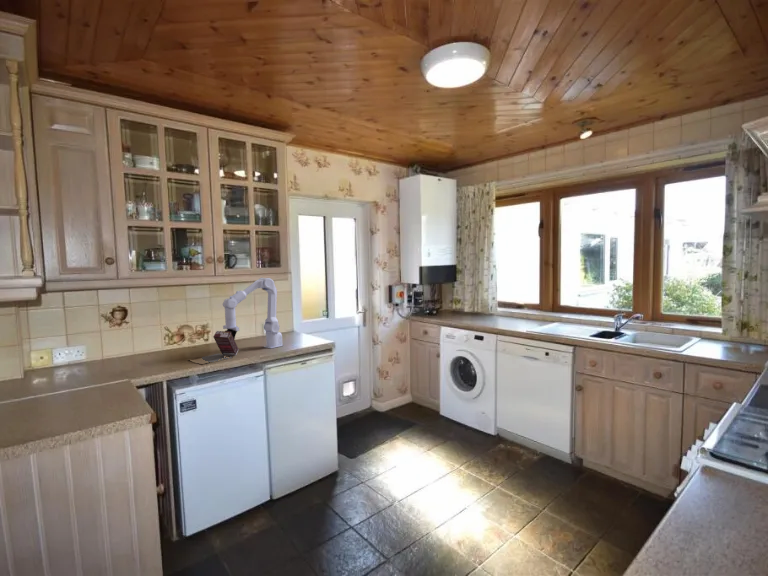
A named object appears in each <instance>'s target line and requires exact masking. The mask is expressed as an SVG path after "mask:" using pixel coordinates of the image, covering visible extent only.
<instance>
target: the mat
mask: <svg viewBox="0 0 768 576" xmlns="http://www.w3.org/2000/svg"><path fill="white" fill-rule="evenodd" d="M224 356H225V355H222V353H215V354H210V355H206V356H201V357H202V359H203V360H205V361H208V362H213V363H215V362H214V361H217V362H219V361H218V360H219V359H220V360H221V361H223V360H222V358H223V359H226V360H229V359H228V358H226V357H225V358H224ZM232 357H233V356H230V357H229V358H230V359H233V358H232Z"/></svg>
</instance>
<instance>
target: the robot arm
mask: <svg viewBox="0 0 768 576" xmlns="http://www.w3.org/2000/svg"><path fill="white" fill-rule="evenodd" d="M257 289H263V290H264V291H265V292H266V293H267V312H266V313H267V316H266V319H265V321H264V324H263V330H264V331H265V338H266V339H265V340H266V342H265V343H266V344H265V345H263V348H266V349H274V348H280V347H283V346H284V345H283V335H282V332H280V324H279V320H278V318H277V303H278V301H277V299H278V289H277V287H276V285H275V281H274V280H273V279H272V278H270V277H260V278H258V279H257V280H255V281H254V282H253V283H251V284H250V285H248V286H247V287H246V288H245V289H243V290H237V291H236V292H235V293H234V294H233V295H230V296H229V298H225V299H224V300H223V303H222V306H223V307H224V317H225V325H222V328H223V329H224V330H225V331H229V332H231V334H232V336H233V338H234V340H235V337H236V334H237V332H240V326H237V317H236V316H237V315H236V314H237V312H236V307H237V306H238V305H239V304H240V303H241V302H243V301H244V300H245V299H247V296H248V295H249V294H252V292H254V291H255V290H257Z"/></svg>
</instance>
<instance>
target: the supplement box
mask: <svg viewBox="0 0 768 576" xmlns="http://www.w3.org/2000/svg"><path fill="white" fill-rule="evenodd" d="M212 337H213V339H214V342H215V343H216V345H217V346H218V349H219V351H220V354H222V355H226V356H237V354H238V352H239V350H240V349H239V347H238V344H237V343H236V341H235V339H234V338H233V336H232V334H231V332H229V331H226V330H224V331H223V330H216V331H215V333H214V335H213V336H212Z"/></svg>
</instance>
